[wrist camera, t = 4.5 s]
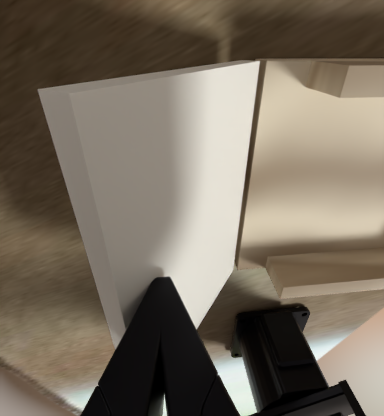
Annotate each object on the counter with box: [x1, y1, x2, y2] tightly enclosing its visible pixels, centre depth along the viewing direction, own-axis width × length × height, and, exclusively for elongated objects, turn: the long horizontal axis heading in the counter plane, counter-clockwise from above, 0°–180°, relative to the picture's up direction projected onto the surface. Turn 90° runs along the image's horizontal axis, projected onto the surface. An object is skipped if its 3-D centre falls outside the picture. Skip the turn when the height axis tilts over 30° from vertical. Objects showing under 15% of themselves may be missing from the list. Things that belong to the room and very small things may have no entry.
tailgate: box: [37, 60, 260, 350], centre depth 11 cm, size 12×1×9 cm
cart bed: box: [234, 58, 384, 299], centre depth 14 cm, size 12×12×4 cm
